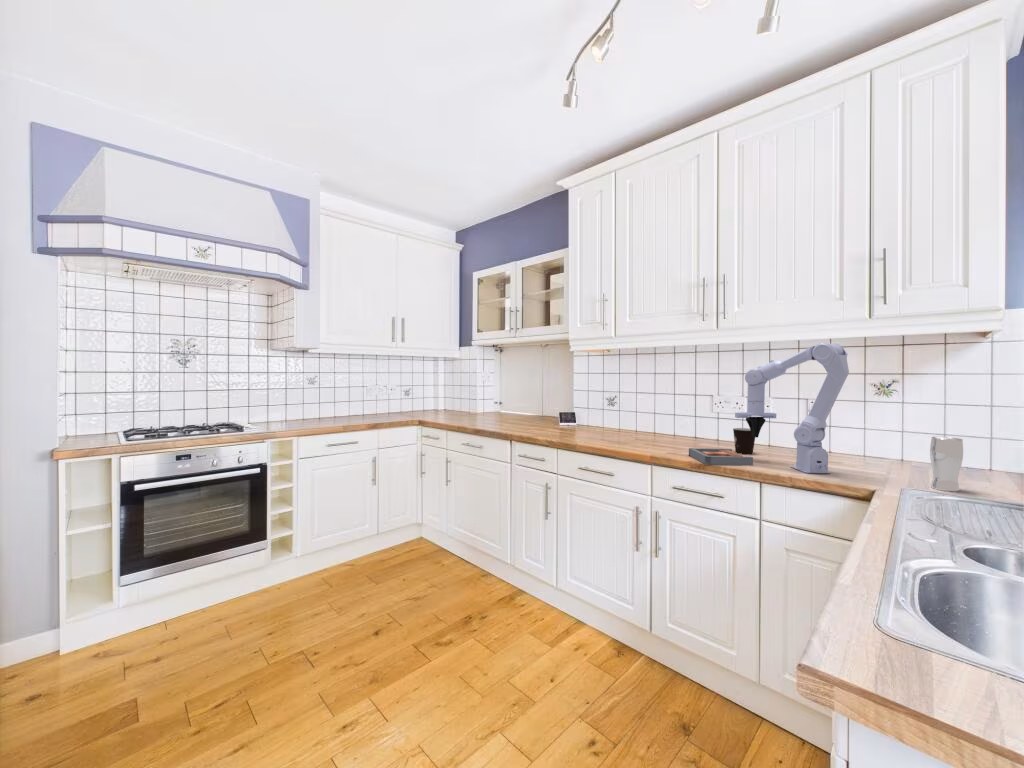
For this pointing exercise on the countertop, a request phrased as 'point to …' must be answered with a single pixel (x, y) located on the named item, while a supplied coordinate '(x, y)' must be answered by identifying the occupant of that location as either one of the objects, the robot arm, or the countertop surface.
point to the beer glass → (946, 462)
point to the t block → (722, 453)
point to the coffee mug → (743, 440)
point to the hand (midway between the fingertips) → (755, 437)
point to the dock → (718, 457)
